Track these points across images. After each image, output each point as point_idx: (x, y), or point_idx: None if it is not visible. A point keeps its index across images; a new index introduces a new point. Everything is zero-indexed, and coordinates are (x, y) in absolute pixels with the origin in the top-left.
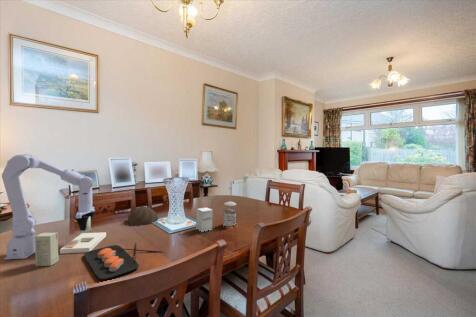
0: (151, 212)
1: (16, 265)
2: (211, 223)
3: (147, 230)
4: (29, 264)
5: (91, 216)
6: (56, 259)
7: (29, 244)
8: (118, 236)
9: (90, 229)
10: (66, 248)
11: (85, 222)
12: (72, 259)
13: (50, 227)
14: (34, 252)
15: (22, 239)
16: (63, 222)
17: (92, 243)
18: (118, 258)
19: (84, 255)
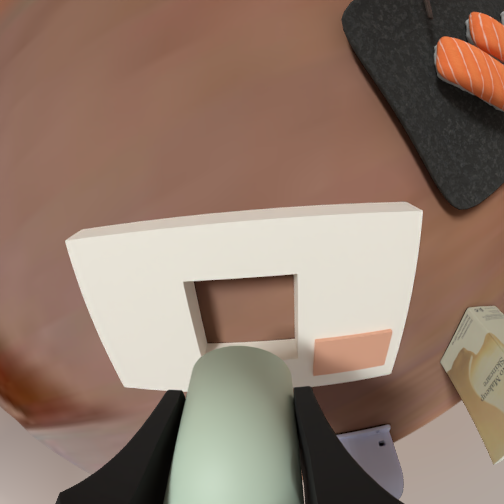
0: None
1: (434, 407)
2: None
3: (12, 7)
4: (445, 382)
5: (140, 498)
6: (483, 314)
7: (367, 468)
8: (82, 122)
9: (225, 359)
10: (391, 351)
11: (359, 466)
12: (471, 253)
13: (93, 460)
14: (344, 434)
15: (395, 491)
16: (48, 440)
17: (336, 229)
18: (484, 9)
19: (485, 198)
